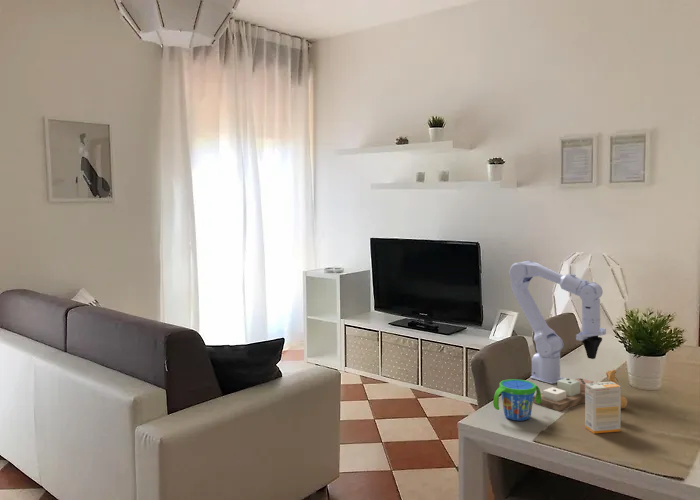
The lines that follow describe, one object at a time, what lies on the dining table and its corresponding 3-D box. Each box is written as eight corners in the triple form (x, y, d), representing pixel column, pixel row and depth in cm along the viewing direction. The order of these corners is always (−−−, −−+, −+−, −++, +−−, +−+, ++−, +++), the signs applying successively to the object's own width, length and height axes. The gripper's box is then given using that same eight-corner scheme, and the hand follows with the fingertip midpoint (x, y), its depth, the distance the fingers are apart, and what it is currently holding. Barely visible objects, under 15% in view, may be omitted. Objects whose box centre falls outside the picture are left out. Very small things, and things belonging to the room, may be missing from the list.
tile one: (556, 406, 181) (556, 393, 181) (542, 402, 185) (542, 389, 185) (566, 403, 184) (566, 390, 184) (552, 399, 188) (552, 386, 188)
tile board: (559, 411, 178) (559, 404, 178) (532, 402, 186) (532, 396, 186) (603, 394, 192) (603, 388, 192) (576, 387, 200) (576, 381, 200)
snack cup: (531, 408, 181) (531, 376, 180) (550, 420, 171) (550, 387, 170) (485, 413, 178) (485, 381, 177) (502, 426, 167) (502, 392, 167)
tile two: (570, 396, 185) (570, 383, 185) (557, 392, 190) (557, 380, 189) (580, 393, 188) (580, 380, 188) (566, 389, 192) (566, 377, 192)
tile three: (584, 396, 190) (584, 384, 190) (571, 392, 194) (571, 380, 194) (593, 393, 193) (593, 381, 192) (579, 389, 197) (580, 377, 196)
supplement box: (611, 425, 166) (611, 380, 165) (621, 432, 162) (621, 386, 160) (584, 427, 165) (584, 382, 164) (593, 434, 161) (593, 388, 159)
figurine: (624, 413, 175) (625, 374, 174) (603, 410, 178) (603, 372, 177) (628, 405, 182) (629, 367, 181) (608, 402, 185) (608, 365, 184)
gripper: (589, 323, 190) (589, 364, 191) (614, 317, 198) (614, 356, 199) (570, 320, 196) (570, 360, 196) (595, 314, 204) (595, 352, 205)
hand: (591, 358), depth 198 cm, fingers closed
